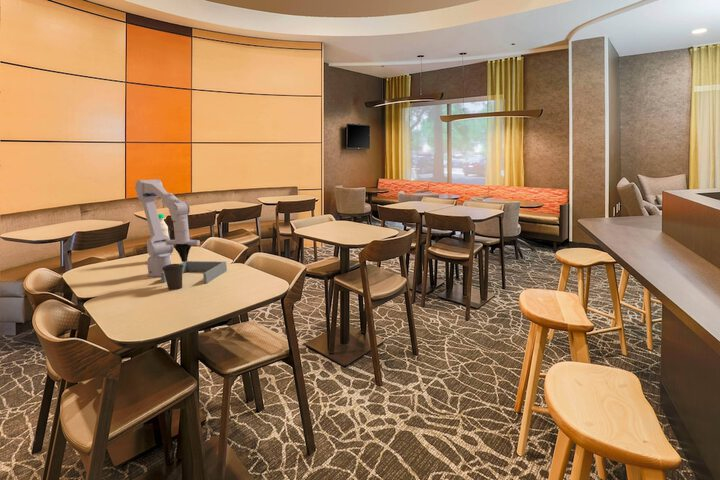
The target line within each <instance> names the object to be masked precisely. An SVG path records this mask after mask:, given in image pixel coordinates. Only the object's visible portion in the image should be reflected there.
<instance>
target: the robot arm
mask: <svg viewBox="0 0 720 480" xmlns="http://www.w3.org/2000/svg"><path fill="white" fill-rule="evenodd" d="M134 189H135V193H136V196H137V199H138V200H139V201H141V204H142V207H143V210H144V214H145V218H146V221H147V225H148V228H149V232H150V237H149V238H148V239H147V241H146V249H147V250H146V251H147V254H148V255H149V257H148V258H147V260H146V266H147V277H156V278H157V277H161V273H162V272H164V270H163V269H162V268H163V267H164V266H167V265H170V264H172V259H171V260H170V255H171V256H172V253H174V249H175V250H176V252H177V254H178V255H179V258H180V259H181V263H182V262H186V261H188V257H189V253H190V250H191V248H192V246H195V247H196V246H200V245H201V241H200V239H190V229H189V228H190V227H189V218H188V216H189V214H190V209H191V208H190V205H189V203H188V202H187V201H182V200H180V199H179V198H178V197H177V196H176V195H174V193H172V192H168V191H167V190H166V189H165V188H164V186H163V182H162V181H161V180H160V179H159V178H156V179H138V180H136V182H135V186H134ZM158 198H159V199H161V203H162V204H163V205H164V206H165V208H167V209H168V212H169V215H170V217H171V220H172V222H173V223H172V224H173V230H174V231H173V232H174V233H173V234H174V239H171V237H170V236H169V237H168V236H166V235H164V234H163V231H162V227H161V224H160V220H159V217H158V214H159V213H158V210H157V206H156V203H155V202H156V199H158ZM159 241H162V242H159ZM155 242H157V243H155ZM161 278H162V277H161Z"/></svg>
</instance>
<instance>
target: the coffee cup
mask: <svg viewBox="0 0 720 480" xmlns="http://www.w3.org/2000/svg"><path fill="white" fill-rule="evenodd" d="M183 267H184V266H183V265H181V264H180V263H171V264H170V265H167V266H164V267H163V268H162V269H163V270H164V274H165V278H166V282H165V283H166V285H167V289H168V290H169V291H175V290H176V291H177V290H180V289H183V273H182V268H183Z"/></svg>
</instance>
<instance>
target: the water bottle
mask: <svg viewBox="0 0 720 480" xmlns="http://www.w3.org/2000/svg"><path fill="white" fill-rule="evenodd" d="M158 217H159V220H160V224H161V227H162V231H163V234H164V235H166V236H168V237H170V235H169V234H170V233H169V227H168V225H167V224H166V222H165V220H164V219H165V214H164V213H158ZM159 242H162V241H159ZM154 243H157V242H154ZM170 260H171V261H172V254H171V255H170Z"/></svg>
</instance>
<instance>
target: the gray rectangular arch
mask: <svg viewBox="0 0 720 480" xmlns="http://www.w3.org/2000/svg"><path fill="white" fill-rule="evenodd" d="M179 264H181V265H183V266H184V267H183V268H182V274H184V273H186V272H192V271H193V272H202V273H203V272H204V273H203V274H202V275H203V276H202V277H203V284H206V285H207V284H208V283H211V282H212V281H213V280H215V279H216V278H218V277H220V276H221V275H222V274H224V273H225V272H228V271H227V270H228V269H227V268H228V267H227V261H214V260H213V261H211V260H209V261H207V260H206V261H205V260H200V261H199V260H187V261H186V262H182V261H181V263H179ZM161 282H162V283H163V284H164V283H165V284H166V283H167V282H166V278H165V274H164V272H162V273H161Z"/></svg>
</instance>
